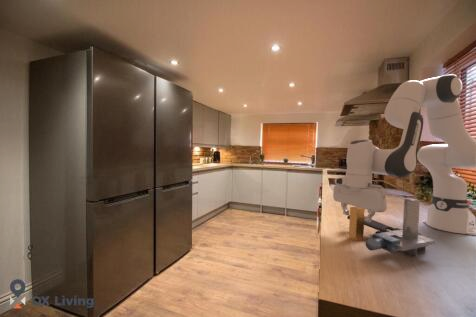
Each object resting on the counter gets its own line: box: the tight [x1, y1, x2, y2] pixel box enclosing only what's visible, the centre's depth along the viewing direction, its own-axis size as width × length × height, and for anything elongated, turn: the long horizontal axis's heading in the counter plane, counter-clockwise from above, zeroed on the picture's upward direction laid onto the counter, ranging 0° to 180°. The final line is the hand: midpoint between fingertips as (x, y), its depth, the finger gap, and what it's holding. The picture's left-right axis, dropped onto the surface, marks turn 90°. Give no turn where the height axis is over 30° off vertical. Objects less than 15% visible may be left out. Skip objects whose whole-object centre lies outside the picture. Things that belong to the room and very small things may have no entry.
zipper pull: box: [346, 214, 427, 254], centre depth 83 cm, size 9×7×25 cm
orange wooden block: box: [348, 206, 366, 242], centre depth 83 cm, size 4×3×12 cm
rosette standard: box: [364, 197, 437, 258], centre depth 68 cm, size 23×10×18 cm, turn 112°
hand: (356, 218), depth 83 cm, fingers open, 8 cm apart
